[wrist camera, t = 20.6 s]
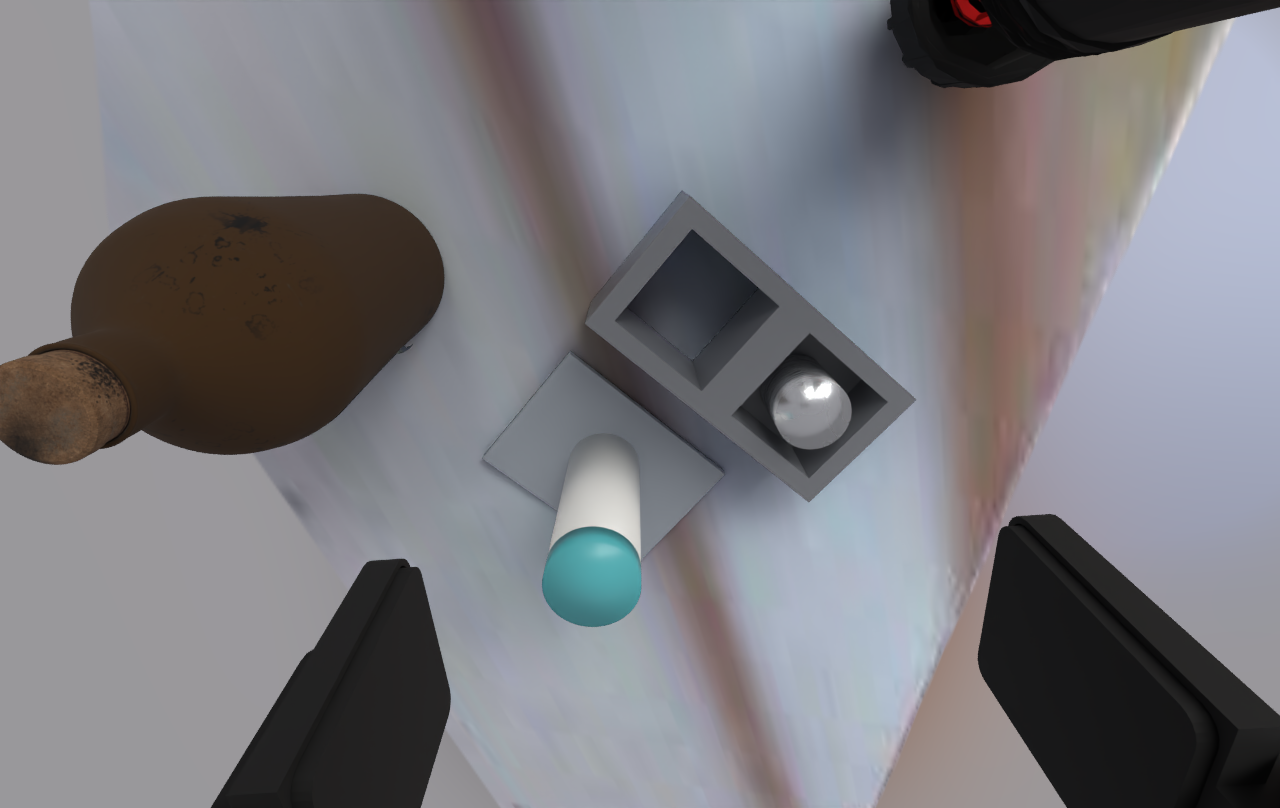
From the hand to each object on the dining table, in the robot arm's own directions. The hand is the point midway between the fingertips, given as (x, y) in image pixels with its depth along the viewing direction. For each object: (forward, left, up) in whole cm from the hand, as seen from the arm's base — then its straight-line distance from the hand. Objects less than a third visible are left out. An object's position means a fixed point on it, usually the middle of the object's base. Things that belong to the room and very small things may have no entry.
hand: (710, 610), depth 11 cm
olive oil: (-14, -12, -34) cm, 38 cm away
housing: (+7, 0, -33) cm, 34 cm away
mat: (+6, -13, -33) cm, 36 cm away
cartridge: (+6, -12, -33) cm, 36 cm away
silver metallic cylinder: (+12, 0, -31) cm, 34 cm away
